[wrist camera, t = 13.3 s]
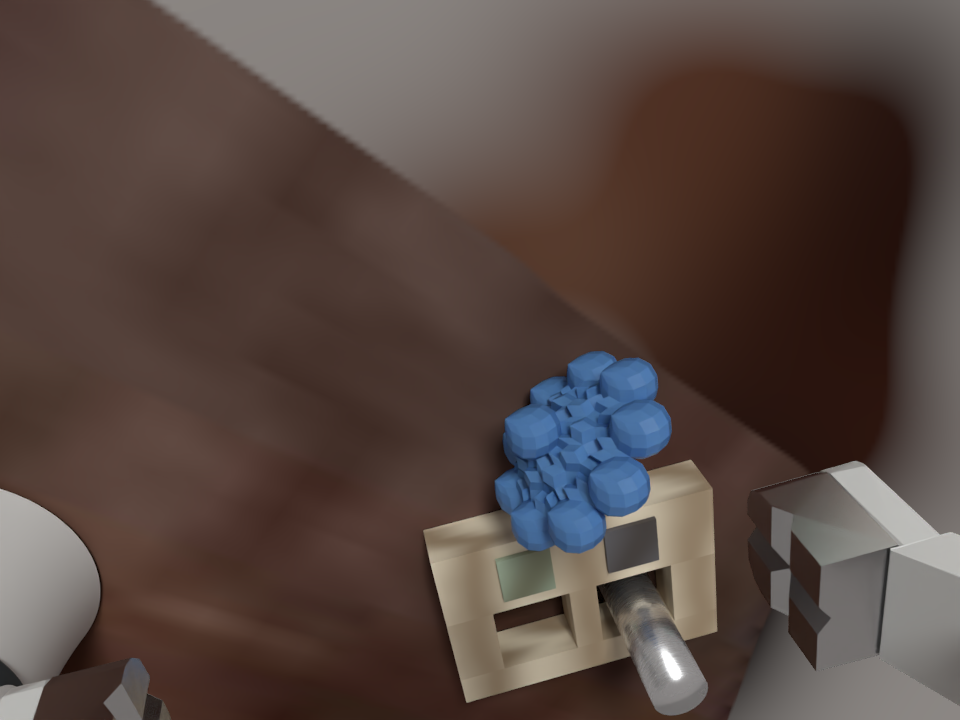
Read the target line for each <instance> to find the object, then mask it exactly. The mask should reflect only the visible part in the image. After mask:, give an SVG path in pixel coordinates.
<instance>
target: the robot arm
mask: <svg viewBox="0 0 960 720" xmlns="http://www.w3.org/2000/svg"><path fill="white" fill-rule="evenodd" d="M747 515H748V516H749V517H750V519H751V520H752V521H753V523H754V524H755V525H756V528H755V530H754V531H753V533H752V534H751V536H750V537H749V538H748V558H749V562H750V566H751V569H752V573H753V576H754V579H755V581H756V583H757V585H758V587H759V590H760V592H761V593H762V595H763V596H764V598H765V599H766V601H767V602H768V604H769V605H770V607H771V608H773V609H775V610H778V611H780V612H782V613H784V614H786V615H788V616H789V626H788V627H789V629H788V632H789V634H790V635H791V637H792V638H793V640H794V641H795V643H796V644H797V645H798V647H799V648H800V649H801V651H802V652H803V653H804V655H805V657H806V658H807V659H808V661H809V662H810V663H811V665H812V666H813V668H814V669H815V671H820V670H824V669H828V668H832V667H835V666H839V665H843V664H847V663H851V662H854V661H858V660H862V659H866V658H870V657H874V656H877V655H879V659H881V660H882V661H884V662H886V663H887V664H889V665H891V666H893V667H895V668H896V669H898V670H899V671H901V672H903V673H905V674H906V675H908V676H910V677H911V678H913V679H915V680H916V681H918V682H920V683H922V684H923V685H925V686H927V687H928V688H930V689H932V690H934V691H935V692H937V693H939V694H940V695H942V696H944V697H945V698H947V699H949V700H951V701H952V702H954V703H956V704H957V705H959V706H960V535H958V534H955V533H952V532H949V533H946V534H942V535H940V534H939V533H938V532H936V531H935V530H934V529H933V528H932V527H931V526H930V525H929V524H928V523H927V522H926V521H925V520H924V519H922V518H921V516H919V515H918V514H917V513H916V512H915V511H914V510H913V509H912V508H911V507H910V506H909V505H908V504H906V503H905V502H904V501H903V500H902V499H901V498H900V497H899V496H898V495H897V494H896V493H895V492H894V491H893V490H892V489H890V488H889V487H888V486H887V485H886V484H885V483H884V482H883V481H882V480H880V478H879V477H878V476H876V475H875V474H874V473H873V472H872V471H871V470H870V469H869V468H868V467H867V466H866V465H865V464H863V463H860V462H857V461H854V462H850V463H847V464H844V465H840V466H836V467H833V468H829V469H826V470H822V471H820V472H819V473H813V474H809V475H806V476H802V477H799V478H795V479H791V480H788V481H784V482H781V483H777V484H773V485H770V486H766V487H763V488H759V489H756V490H752V491H751V492H750V494H749V497H748V500H747ZM99 602H100V581H99V576H98V572H97V568H96V566H95V563H94V561H93V559H92V557H91V555H90V553H89V551H88V550H87V548H86V547H85V545H84V544H83V542H82V541H81V540H80V539H79V537H78V536H77V535H76V534H75V533H74V532H73V531H72V530H71V529H70V528H69V527H68V526H67V525H66V524H65V523H64V522H63V521H61V520H60V519H59V518H57V517H56V516H55V515H53V514H52V513H50V512H49V511H47V510H46V509H44V508H43V507H41V506H39V505H37V504H35V503H34V502H32V501H30V500H28V499H25V498H23V497H21V496H19V495H16V494H14V493H11V492H8V491H5V490H2V489H0V720H171V718H170V714H169V712H168V710H167V708H166V706H165V704H164V702H163V701H162V700H160V699H158V698H156V697H154V696H151V695H149V694H147V691H148V685H149V679H150V676H149V674H148V673H147V671H146V669H145V668H144V666H143V664H142V663H141V661H140V659H135V658H129V659H125V660H120V661H116V662H112V663H108V664H104V665H100V666H96V667H92V668H88V669H84V670H80V671H75V672H71V673H67V674H63V675H59V674H60V672H61V671H62V669H63V667H64V666H65V664H66V662H67V661H68V659H69V658H70V656H71V655H72V653H73V652H74V650H75V649H76V647H77V646H78V644H79V643H80V642H81V640H82V639H83V638H84V636H85V635H86V634H87V632H88V631H89V629H90V627H91V626H92V624H93V622H94V620H95V617H96V614H97V611H98V608H99Z"/></svg>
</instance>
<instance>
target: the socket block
mask: <svg viewBox="0 0 960 720" xmlns="http://www.w3.org/2000/svg"><path fill="white" fill-rule="evenodd" d="M647 473H648V475H649V477H650V487H651V490H650V494H649V497H648V499H647V502H646V503H645V504H644V505H643V506H642V507H641V508H640V509H638V510H637V511H636V512H633V513H631V514H628V515H626V516H623V517H613V516H606V515H605V517H606V526H607V528H606V533H605V536H604V538H603V539H602V541H601V542H600V543H599V544H597V545H596V546H595V547H594V548H593V549H590V550H588V551H585V552H583V553H580V554H577V553H566V552H564V551H563V550H561V549H560V548H559V547H557V546H556V545H554V546H553V547H550V548H548V549H545V550H543V551H532V550H527V549H526V548H525V547H523V546H522V545H520V544H519V543H518V542H517V540H516V538H515V536H514V534H513V532H512V528H511V521H510V519H511V516H510V515H509V514H508V513H506V512H505V511H503V510H499V511H495V512H491V513H488V514H484V515H480V516H476V517H472V518H469V519H465V520H461V521H457V522H453V523H450V524H446V525H442V526H438V527H434V528H431V529H427V530H423V532H424V537H425V541H426V546H427V551H428V555H429V560H430V564H431V568H432V572H433V576H434V580H435V584H436V587H437V591H438V595H439V599H440V603H441V607H442V610H443V614H444V618H445V622H446V626H447V630H448V634H449V637H450V641H451V645H452V649H453V653H454V657H455V660H456V664H457V668H458V672H459V676H460V680H461V684H462V687H463V691H464V695H465V699H466V703H468V702H471V701H475V700H478V699H482V698H485V697H489V696H492V695H496V694H499V693H503V692H506V691H510V690H513V689H517V688H520V687H524V686H527V685H531V684H534V683H538V682H541V681H545V680H548V679H552V678H555V677H559V676H562V675H566V674H569V673H573V672H576V671H580V670H583V669H587V668H590V667H594V666H597V665H601V664H604V663H608V662H611V661H615V660H618V659H622V658H625V657H629V656H630V654H629V651H628V649H627V647H626V645H625V643H624V641H623V638H622V636H621V634H620V632H619V630H618V628H617V625H616V623H615V621H614V619H613V617H612V615H611V612H610V610H609V608H608V606H607V604H606V602H604V603H601V604H598V596H597V588H596V586H598V585H601V584H605V583H608V582H612V581H616V580H619V579H623V578H627V577H630V576H634V575H637V574H641V573H645V572H648V571H652V570H655V572H656V585H657V588H655V589H656V590H657V592H658V594H659V596H660V598H661V600H662V601H663V603H664V605H665V607H666V609H667V611H668V612H669V614H670V616H671V618H672V620H673V621H674V623H675V625H676V627H677V629H678V631H679V632H680V634H681V636H682V638H683V640H684V641H685V640H689V639H692V638H696V637H699V636H703V635H706V634H710V633H713V632H717V613H716V582H715V552H714V522H713V492H712V487H711V486H710V485H709V483H708V482H707V481H706V479H705V478H704V477H703V475H702V474H701V473H700V471H699V470H698V469H697V467H696V466H695V464H694V463H693V462H692V460H689V461H685V462H681V463H677V464H673V465H670V466H666V467H662V468H658V469H654V470H651V471H647ZM558 596H562V603H563V609H564V614H561V615H557V616H554V617H550V618H547V619H543V620H540V621H536V622H532V623H529V624H525V625H522V626H518V627H514V628H511V629H507V630H504V631H500V632H497V631H496V626H495V622H494V617H493V614H496V613H500V612H503V611H507V610H510V609H514V608H518V607H521V606H525V605H529V604H532V603H536V602H540V601H543V600H547V599H550V598H554V597H558Z"/></svg>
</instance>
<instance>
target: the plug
mask: <svg viewBox="0 0 960 720" xmlns="http://www.w3.org/2000/svg"><path fill="white" fill-rule="evenodd" d="M598 587H599V589H600V591H601V593H602V595H603V597H604V600H605V602H606V604H607V606H608V608H609V610H610V612H611V615H612V617H613V619H614V621H615V623H616V625H617V628H618V630H619V632H620V634H621V636H622V638H623V641H624V643H625V645H626V647H627V649H628V651H629V654H630V656H631V658H632V660H633V662H634V664H635V666H636V669H637V671H638V673H639V675H640V677H641V679H642V682H643V684H644V686H645V688H646V690H647V692H648V695H649V697H650V699H651V701H652V703H653V705H654V708H655V709H656V710H657V711H658V712H660V713H662V714H665V715H678V714H682V713H685V712H688V711H690V710H692V709H693V708H695V707H696V706H697V705H699V704H700V703H701V702H702V700H703V699H704V698H705V696H706V694H707V690H708V685H707V682H706V680H705V678H704V676H703V675H702V673H701V671H700V669H699V667H698V665H697V664H696V662H695V660H694V658H693V656H692V654H691V653H690V651H689V649H688V647H687V645H686V643H685V642H684V640H683V638H682V636H681V634H680V632H679V631H678V629H677V627H676V625H675V623H674V621H673V620H672V618H671V616H670V614H669V612H668V611H667V609H666V607H665V605H664V603H663V601H662V600H661V598H660V596H659V594H658V592H657V590H656V589H655V587H654V585H653V583H652V581H651V579H650V578H649V576H648V574H647V572H645V573H641V574H637V575H634V576H630V577H627V578H623V579H619V580H616V581H612V582H608V583H605V584H601V585H598Z"/></svg>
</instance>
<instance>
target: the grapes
mask: <svg viewBox="0 0 960 720" xmlns="http://www.w3.org/2000/svg"><path fill="white" fill-rule="evenodd" d="M657 390H658V381H657V374H656V373H655V371H654V369H653V368H652V366H651V364H650V363H648V362H646V361H644V360H642V359H640V358H624V359H622V360H619V361H616V359H615V358H614V356H612V355H610V354H608V353H606V352H604V351H595V352H589V353H586V354H584V355H581V356H579V357H578V358H576V359H575V360H574V361H572V362H571V363H569V364H568V369H567V378H566V377H551V378H549V379H546V380H544V381H542V382H540V383H539V384H537V385H536V386H535V387H533V388H532V389H531V390H530V402H531V404H530V405H528V406H525V407H523V408H520V409H518V410H517V411H515V412H514V413H512V414H511V415H510V416H508V417H507V418H506V419H505V433H503V446H504V452H505V454H506V456H507V458H508V460H509V462H510V463H511V464H512V465H514V466H515V468H512V469H510V470H507V471H506V472H505V473H503V474H502V475H501V476H499V477H498V478H497V479H496V480H495V493H496V499H497V501H498V503H499V505H500V507H501V509H502V510H503V511H505V512H506V513H508V514H509V515H510V516H511V519H510V521H511V528H512V532H513V534H514V536H515V538H516V540H517V542H518V543H519V544H520V545H522V546H523V547H525V548H526V549H527V550H532V551H543V550H545V549H548V548H550V547H553V546H554V545H556V546H557V547H559V548H560V549H561V550H563V551H564V552H566V553H577V554H580V553H583V552H585V551H588V550H590V549H593V548H594V547H595V546H596V545H597V544H599V543H600V542H601V541H602V539H603V538H604V536H605V533H606V528H607V526H606V517H605V515H606V516H613V517H623V516H626V515H628V514H631V513H633V512H636V511H637V510H638V509H640V508H641V507H642V506H643V505H644V504H645V503H646V502H647V499H648V497H649V494H650V490H651V487H650V477H649V475H648V473H647V471H646V470H645V468H644V466H643V464H641V463H640V462H638V461H636V460H634V459H645V458H647V457H650V456H652V455H655V454H657V453H658V452H659V451H660V450H661V449H663V448H664V447H665V446H666V445H667V443H668V441H669V439H670V436H671V432H672V429H671V418H670V416H669V415H668V413H667V411H666V410H665V408H664V406H662V405H660V404H658V403H656V402H655V401H653V400H654V399H655V397H656V394H657Z"/></svg>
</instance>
